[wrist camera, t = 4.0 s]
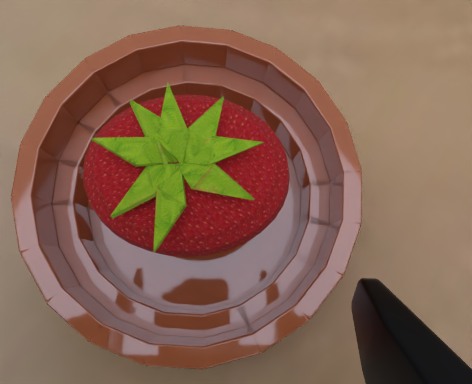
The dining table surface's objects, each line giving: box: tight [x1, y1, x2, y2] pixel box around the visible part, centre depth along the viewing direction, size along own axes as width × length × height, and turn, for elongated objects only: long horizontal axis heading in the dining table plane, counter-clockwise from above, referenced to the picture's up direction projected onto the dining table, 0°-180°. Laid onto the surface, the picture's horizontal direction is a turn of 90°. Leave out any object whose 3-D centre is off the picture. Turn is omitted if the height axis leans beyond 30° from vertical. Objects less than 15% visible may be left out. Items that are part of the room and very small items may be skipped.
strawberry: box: [83, 82, 290, 257], centre depth 15 cm, size 6×8×10 cm
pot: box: [11, 26, 362, 369], centre depth 18 cm, size 14×14×5 cm
